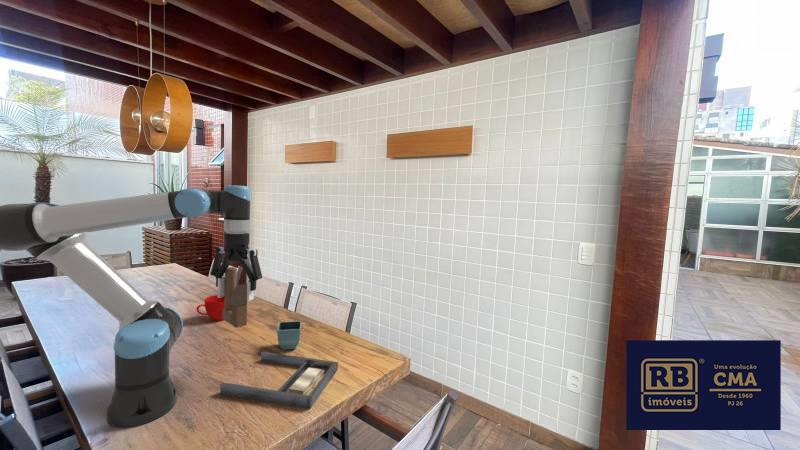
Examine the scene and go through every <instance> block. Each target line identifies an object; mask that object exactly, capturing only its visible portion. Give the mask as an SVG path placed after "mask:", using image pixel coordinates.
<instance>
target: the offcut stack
mask: <svg viewBox="0 0 800 450" xmlns="http://www.w3.org/2000/svg"><path fill="white" fill-rule="evenodd" d="M325 374H326V370H322V369H316V368H308V369H307V370H306V371H305V372H304V373H303V374H302V375H301V376H300V377H299V378H298V380H297V381H296V382H295V383H294V384H293V385H292V386H291V387H290V388H289V390H288V393H294V394H300V395H307V396H308V394H309V393H311V391H312V390H313V389H314V388H315V386H316V385H317V384H318V383H319V381H320V380H321V379H322V378H323V376H324V375H325Z"/></svg>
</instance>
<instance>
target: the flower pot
mask: <svg viewBox="0 0 800 450" xmlns="http://www.w3.org/2000/svg"><path fill="white" fill-rule="evenodd" d="M301 328H302V321H301V320H295V321H280V322H278V325H277V328H276V329H277V330H276V333H277V342H278V345H279V347H280V348H281V350H282V351H283V350H285V351H286V350H294V349H297V347H298V345H299V342H300V338H301V332H302V331H301Z"/></svg>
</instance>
